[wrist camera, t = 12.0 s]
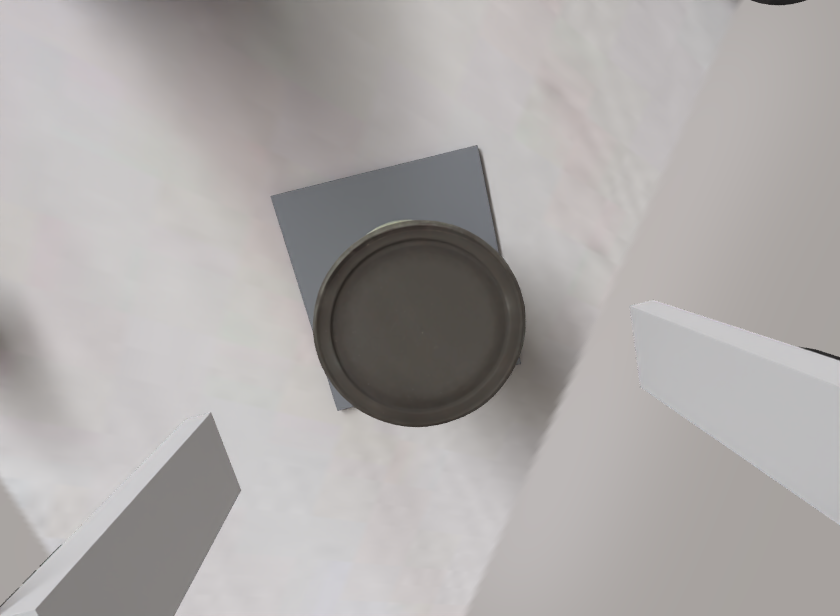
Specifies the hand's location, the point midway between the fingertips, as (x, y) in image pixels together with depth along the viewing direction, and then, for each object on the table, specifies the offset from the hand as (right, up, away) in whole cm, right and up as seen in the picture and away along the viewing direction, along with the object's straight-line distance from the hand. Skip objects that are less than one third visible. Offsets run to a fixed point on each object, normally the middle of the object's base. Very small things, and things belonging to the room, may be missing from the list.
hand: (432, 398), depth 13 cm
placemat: (-2, +5, +22) cm, 22 cm away
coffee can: (-1, +5, +21) cm, 22 cm away
